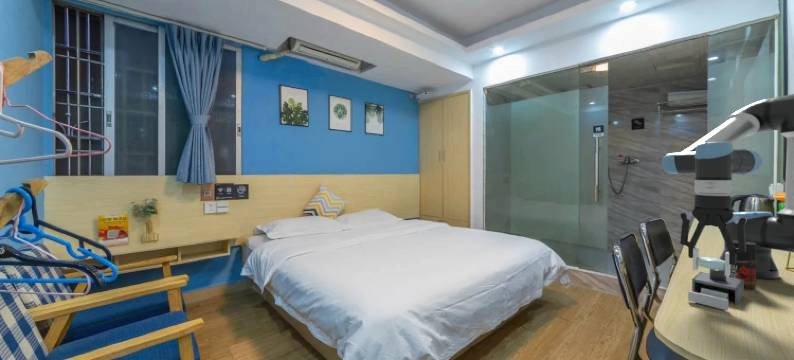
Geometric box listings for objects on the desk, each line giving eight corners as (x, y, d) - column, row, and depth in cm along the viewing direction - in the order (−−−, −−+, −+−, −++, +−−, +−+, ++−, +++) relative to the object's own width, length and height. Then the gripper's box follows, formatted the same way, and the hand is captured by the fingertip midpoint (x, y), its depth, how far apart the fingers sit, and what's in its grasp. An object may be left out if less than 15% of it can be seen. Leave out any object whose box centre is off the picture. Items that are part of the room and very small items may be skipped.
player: (700, 285, 101) (700, 263, 101) (743, 295, 93) (744, 270, 93) (692, 293, 95) (692, 269, 95) (737, 304, 87) (738, 278, 87)
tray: (697, 291, 95) (697, 282, 95) (734, 300, 89) (735, 290, 89) (688, 300, 89) (688, 291, 89) (727, 310, 82) (727, 300, 82)
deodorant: (725, 285, 101) (725, 241, 101) (733, 282, 103) (733, 239, 103) (750, 291, 96) (751, 245, 95) (759, 288, 98) (759, 243, 97)
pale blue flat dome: (721, 265, 90) (721, 258, 89) (730, 271, 84) (730, 264, 84) (693, 262, 93) (694, 255, 93) (700, 267, 88) (700, 260, 87)
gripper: (666, 193, 94) (665, 266, 94) (761, 197, 78) (759, 284, 79) (673, 192, 98) (672, 262, 98) (764, 195, 82) (762, 278, 83)
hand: (711, 271), depth 89 cm, fingers closed on pale blue flat dome, 6 cm apart
